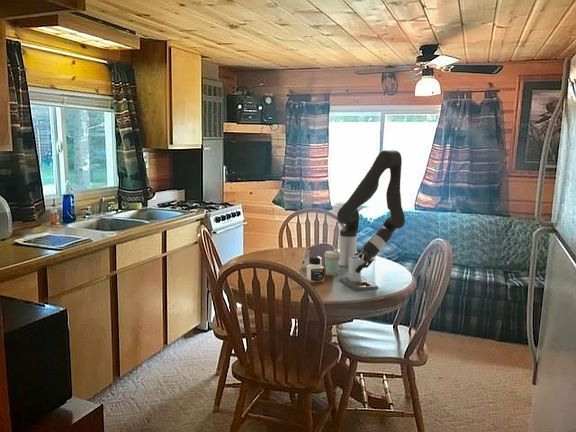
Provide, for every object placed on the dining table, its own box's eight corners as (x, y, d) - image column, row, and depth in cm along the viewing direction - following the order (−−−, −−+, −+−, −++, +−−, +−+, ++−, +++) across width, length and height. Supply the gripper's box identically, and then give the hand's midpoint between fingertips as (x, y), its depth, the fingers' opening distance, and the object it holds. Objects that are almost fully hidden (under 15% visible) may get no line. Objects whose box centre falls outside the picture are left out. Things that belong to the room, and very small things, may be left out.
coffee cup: (339, 277, 247) (339, 254, 245) (322, 276, 249) (323, 253, 247) (340, 272, 255) (341, 250, 254) (324, 271, 257) (325, 250, 255)
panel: (339, 280, 240) (339, 277, 240) (361, 278, 244) (361, 276, 244) (355, 291, 224) (355, 288, 223) (378, 289, 227) (378, 286, 227)
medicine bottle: (310, 282, 238) (311, 258, 236) (306, 278, 244) (306, 255, 242) (324, 281, 239) (324, 258, 238) (319, 277, 246) (320, 254, 244)
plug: (348, 281, 240) (348, 255, 238) (356, 280, 241) (357, 254, 239) (352, 283, 235) (352, 257, 233) (360, 282, 237) (361, 256, 235)
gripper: (363, 238, 244) (341, 261, 242) (376, 243, 231) (354, 268, 229) (372, 247, 246) (351, 271, 245) (386, 253, 233) (364, 278, 231)
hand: (352, 269), depth 237 cm, fingers open, 8 cm apart
